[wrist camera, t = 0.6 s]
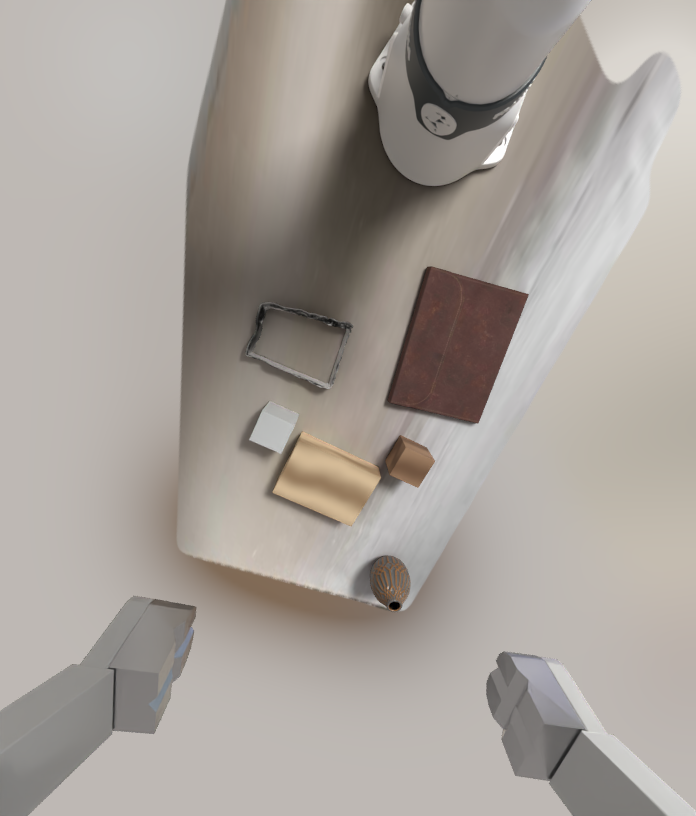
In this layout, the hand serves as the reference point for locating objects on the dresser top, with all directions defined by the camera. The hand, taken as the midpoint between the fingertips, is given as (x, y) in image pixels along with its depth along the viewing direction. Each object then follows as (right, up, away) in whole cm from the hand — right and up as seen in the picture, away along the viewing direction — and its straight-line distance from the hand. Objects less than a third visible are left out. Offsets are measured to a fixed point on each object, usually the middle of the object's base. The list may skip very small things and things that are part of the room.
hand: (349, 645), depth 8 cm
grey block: (-11, +4, +43) cm, 44 cm away
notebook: (+16, +15, +40) cm, 46 cm away
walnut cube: (+10, -1, +45) cm, 46 cm away
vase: (+7, -23, +51) cm, 56 cm away
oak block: (-3, -5, +46) cm, 46 cm away
